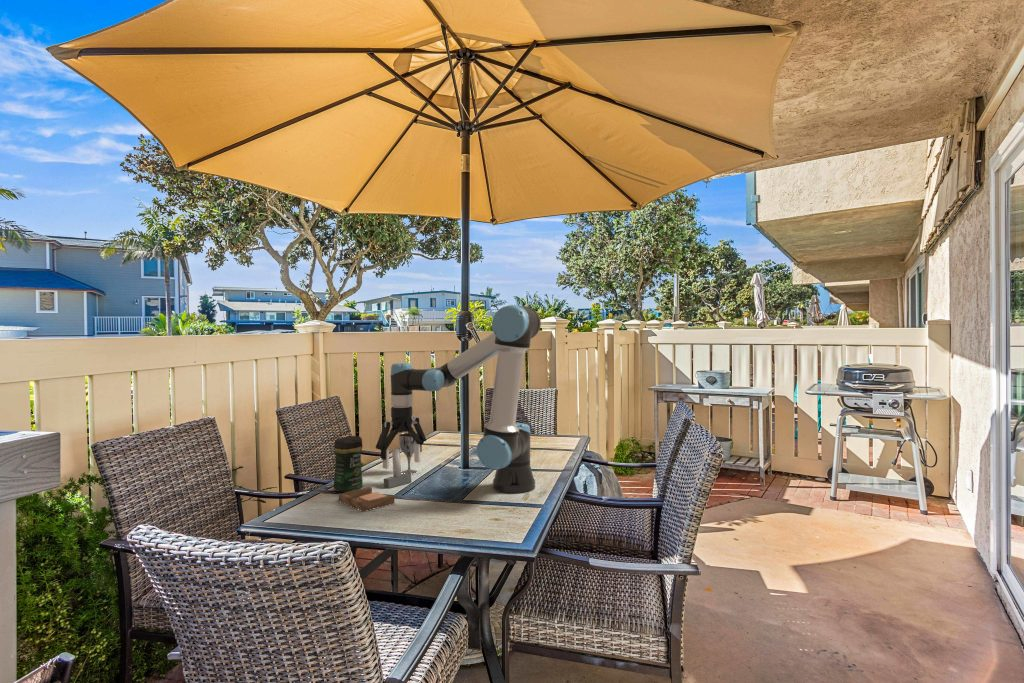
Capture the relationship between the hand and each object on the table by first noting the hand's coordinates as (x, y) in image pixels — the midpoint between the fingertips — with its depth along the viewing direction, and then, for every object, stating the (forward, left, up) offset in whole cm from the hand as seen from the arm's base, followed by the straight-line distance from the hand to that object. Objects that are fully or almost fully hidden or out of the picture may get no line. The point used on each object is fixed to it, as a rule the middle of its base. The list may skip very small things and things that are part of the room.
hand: (402, 465), depth 197 cm
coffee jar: (+11, +15, -8) cm, 20 cm away
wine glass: (+14, -13, -8) cm, 21 cm away
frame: (-7, +18, -8) cm, 21 cm away
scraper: (+3, 0, -8) cm, 8 cm away
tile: (-7, +16, -8) cm, 20 cm away
